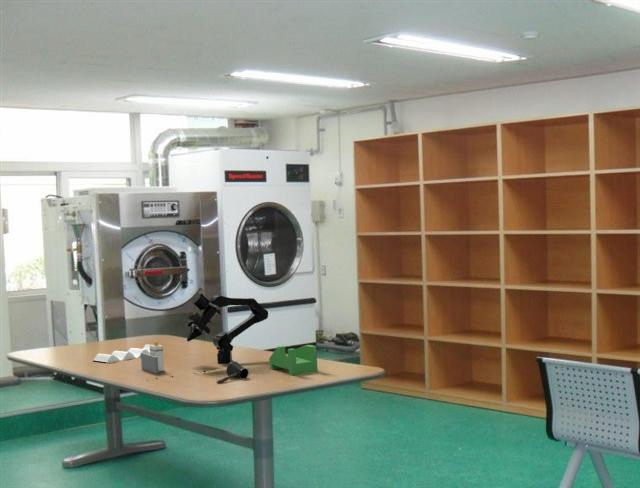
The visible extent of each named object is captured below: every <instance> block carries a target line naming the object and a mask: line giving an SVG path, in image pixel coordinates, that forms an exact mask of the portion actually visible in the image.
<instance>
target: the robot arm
mask: <svg viewBox="0 0 640 488" xmlns="http://www.w3.org/2000/svg"><path fill="white" fill-rule="evenodd" d="M191 304H192V305H193V306H194V307H196V308H197V309H198V310H199V311H202V312H201V313H199V312H196V311H195V312H193V313H192V312H189V311H188V312H187V314H186V317H185V319H186V320H188V321H187V322H185V325H186V326H187V327H188V328H189V333H188V336H187V339H186V342H190V341H192V340H194V339H197V338H198V337H200V336H202V335H204V334H205V335H207V336H208V335H209V334H210V333H211V328H210V327H209V326H208V325H209V324H211V323H212V320H213V318H214V317H215V315H218V316H219V315H221V309H219V308H224V307H225V308H226V307H228V306H243V307H245V306H247V307H248V309H249V310H250V311H251V313H250V315H249V316H248V317H247V318H246V319H244V320H243V321H241V322H240V323H239V324H237V325H236V326H234V327H233V328H231V329H230V330H228V331H220V332H219V333H218V334H215V335H214V338H213V339H212V343H213V346H214V347H215V348H216V350H217V355H216V357H217V364H230V363H231V362H234V359H233V356H232V355H233V353H232V351H233V349H234V346H233V345H232V341H233V340H234V339H235V338H237V337H238V336H239V335H241V334H242V333H244V332H245V331H246V330H248V329H250V328H251V327H252V326H254V325H255V324H258V323H260V322H262V321H265V320H267V319H268V318H269V312H268V311H269V310H267V309H266V308H264V307H263V306H262V305H261V304H260V303H259V302H258V301H257V300H256V299H255V298H252V297H249V298H244V297H243V298H241V297H238V298H236V297H227V296H224V295H217V294H216V295H213V296H212V297H211V298H207V297H206V296H205V295H204V294H203V293H199V294H198V295H196V296H195V297H193V299H192V301H191ZM203 332H204V334H203Z"/></svg>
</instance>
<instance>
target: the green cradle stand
mask: <svg viewBox="0 0 640 488" xmlns="http://www.w3.org/2000/svg"><path fill="white" fill-rule="evenodd" d="M317 353H318V352H317V345H313V344H306V345H302V346H300V347H298V348H288V349H287V352H286V346H284V345H278V346H277V347H276V348H275V349H274V350H273V352H272V353H271V355H270V356H269V358H268V359H269V369H270V370H276V369H277V370H278V369H285V370H288V375H289V376H298V375H303V374H310V373H318V371H319V369H318V354H317Z"/></svg>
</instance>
